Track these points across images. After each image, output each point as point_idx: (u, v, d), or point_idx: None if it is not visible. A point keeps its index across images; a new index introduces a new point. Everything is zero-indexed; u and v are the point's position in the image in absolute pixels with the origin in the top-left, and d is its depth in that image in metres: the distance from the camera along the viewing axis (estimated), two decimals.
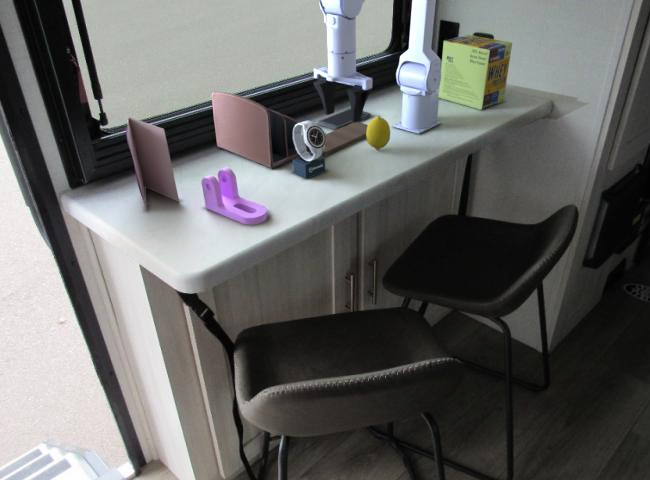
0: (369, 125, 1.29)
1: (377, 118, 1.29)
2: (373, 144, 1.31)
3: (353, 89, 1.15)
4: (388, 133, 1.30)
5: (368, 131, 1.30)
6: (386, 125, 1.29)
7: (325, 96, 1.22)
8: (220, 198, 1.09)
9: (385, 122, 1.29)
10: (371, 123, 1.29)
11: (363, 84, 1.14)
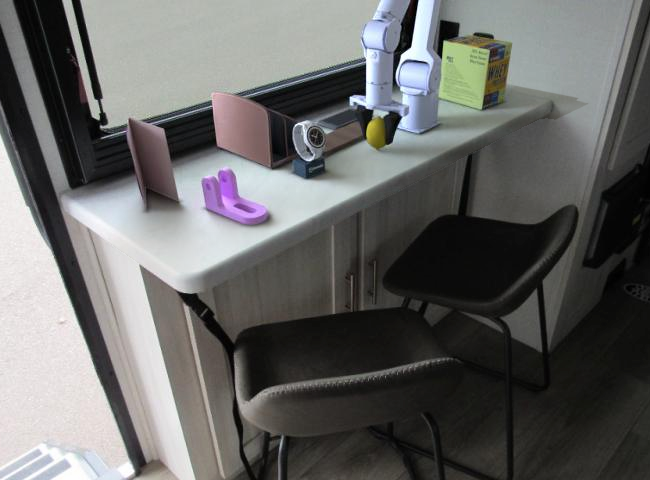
0: (369, 125, 1.29)
1: (377, 118, 1.29)
2: (373, 144, 1.31)
3: (388, 115, 1.25)
4: None
5: (368, 131, 1.30)
6: None
7: (364, 122, 1.30)
8: (220, 198, 1.09)
9: None
10: (371, 123, 1.29)
11: (401, 111, 1.24)
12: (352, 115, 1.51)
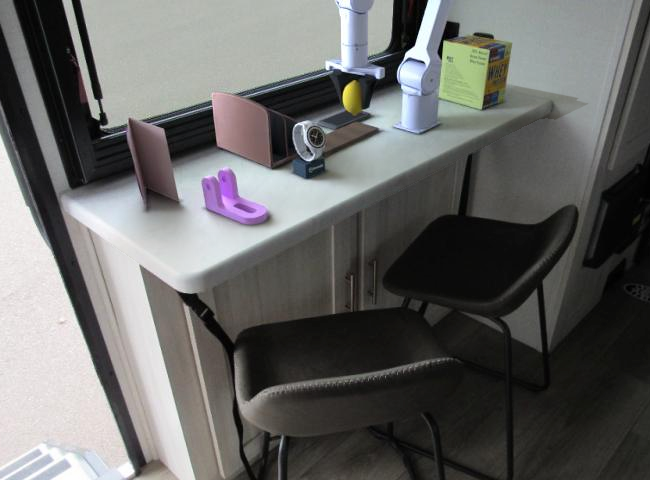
0: (345, 89, 1.28)
1: (353, 82, 1.28)
2: (350, 108, 1.30)
3: (364, 78, 1.24)
4: None
5: (344, 95, 1.29)
6: None
7: (340, 87, 1.29)
8: (220, 198, 1.09)
9: None
10: (347, 87, 1.28)
11: (377, 73, 1.23)
12: (352, 115, 1.51)
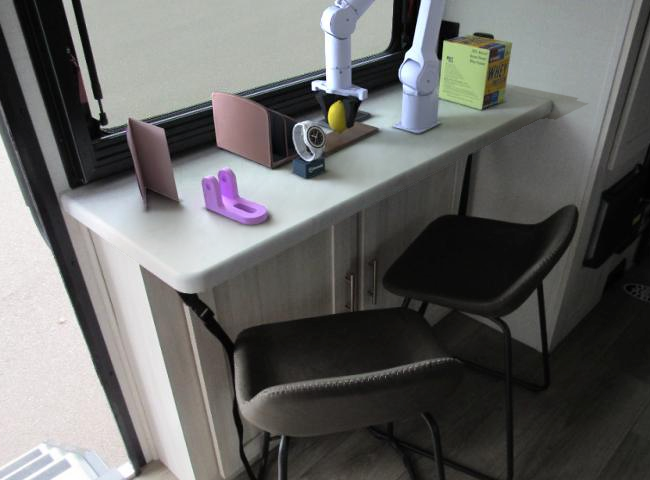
0: (330, 109, 1.34)
1: (338, 102, 1.33)
2: (335, 127, 1.35)
3: (348, 99, 1.30)
4: None
5: (329, 115, 1.34)
6: None
7: (326, 107, 1.35)
8: (220, 198, 1.09)
9: None
10: (332, 107, 1.33)
11: (360, 95, 1.28)
12: None
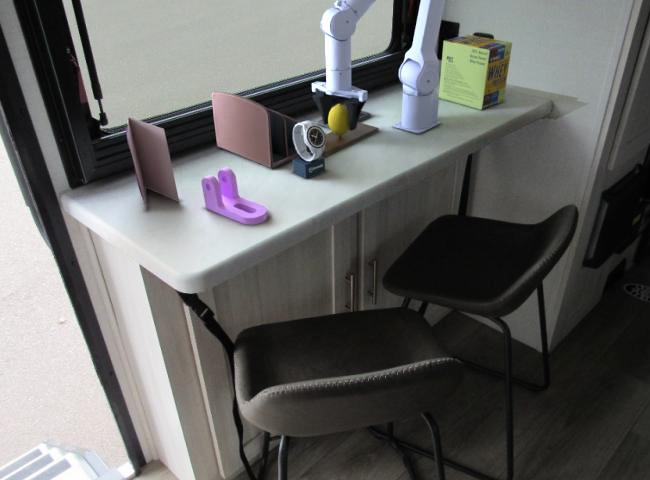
0: (330, 112, 1.34)
1: (338, 105, 1.34)
2: (335, 130, 1.35)
3: (350, 101, 1.30)
4: (348, 120, 1.34)
5: (329, 118, 1.35)
6: (346, 112, 1.34)
7: (323, 107, 1.35)
8: (220, 198, 1.09)
9: (346, 109, 1.34)
10: (332, 110, 1.34)
11: (360, 97, 1.28)
12: None
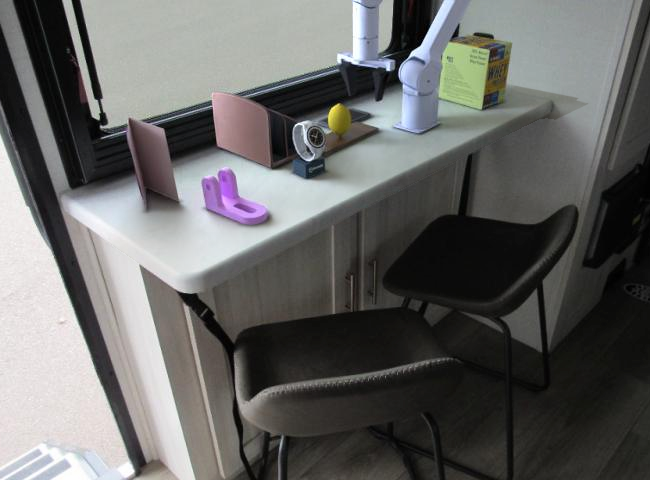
0: (330, 112, 1.34)
1: (338, 105, 1.34)
2: (335, 130, 1.35)
3: (378, 71, 1.28)
4: (348, 120, 1.34)
5: (329, 118, 1.35)
6: (346, 112, 1.34)
7: (348, 78, 1.34)
8: (220, 198, 1.09)
9: (346, 109, 1.34)
10: (332, 110, 1.34)
11: (387, 66, 1.27)
12: (352, 115, 1.51)
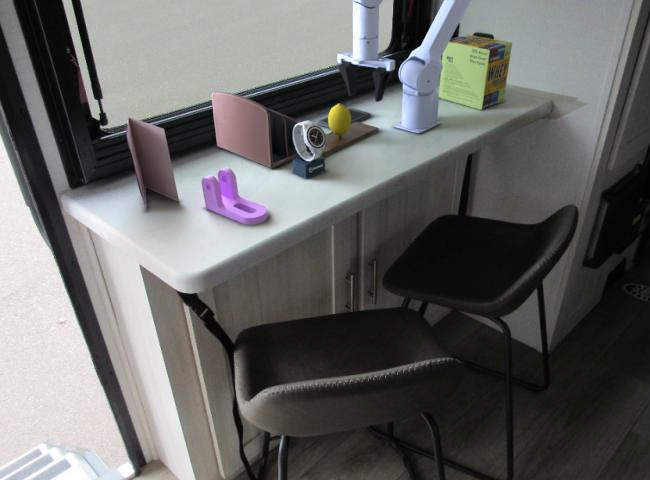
0: (330, 112, 1.34)
1: (338, 105, 1.34)
2: (335, 130, 1.35)
3: (378, 71, 1.28)
4: (348, 120, 1.34)
5: (329, 118, 1.35)
6: (347, 112, 1.34)
7: (348, 78, 1.34)
8: (220, 198, 1.09)
9: (346, 109, 1.34)
10: (332, 110, 1.34)
11: (387, 66, 1.27)
12: (352, 115, 1.51)
